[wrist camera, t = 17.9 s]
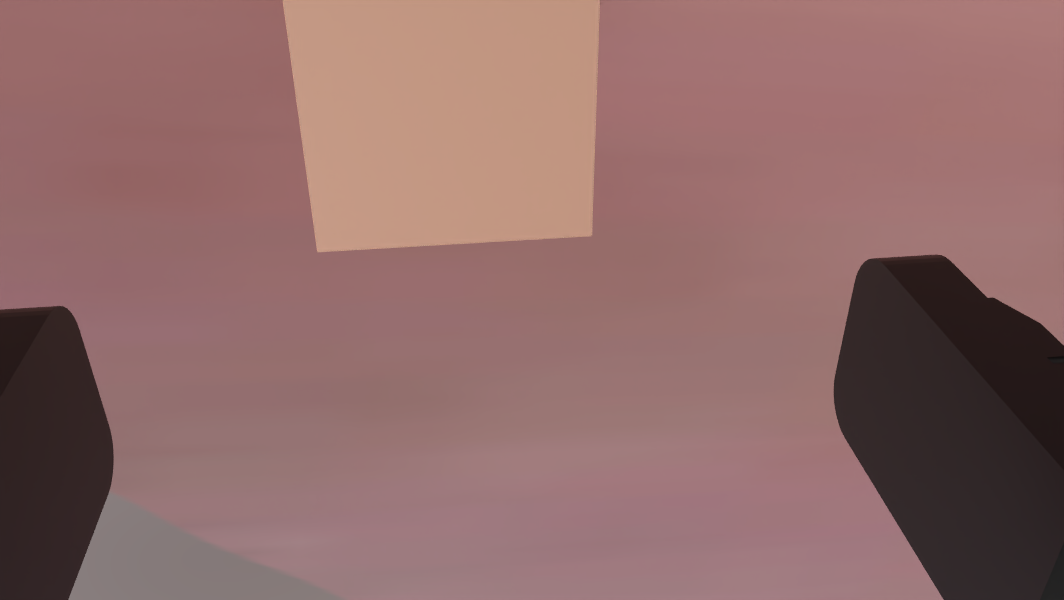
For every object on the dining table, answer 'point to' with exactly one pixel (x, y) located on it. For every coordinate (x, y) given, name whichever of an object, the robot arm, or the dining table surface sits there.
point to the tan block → (446, 119)
